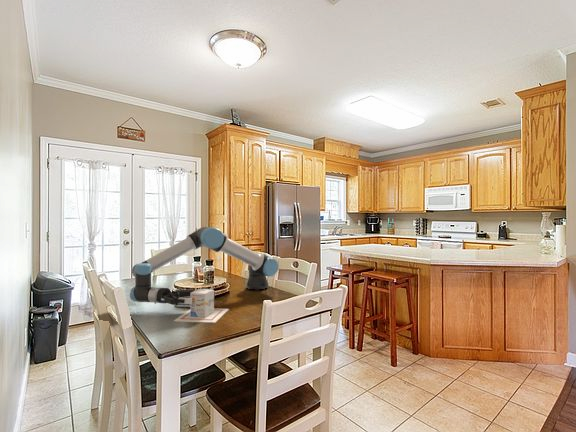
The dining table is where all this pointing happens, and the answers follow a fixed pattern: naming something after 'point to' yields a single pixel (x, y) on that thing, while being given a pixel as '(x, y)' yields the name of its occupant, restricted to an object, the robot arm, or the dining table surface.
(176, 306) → the ink pad
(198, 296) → the ink box
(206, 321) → the marked sheet
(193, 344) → the dining table surface
